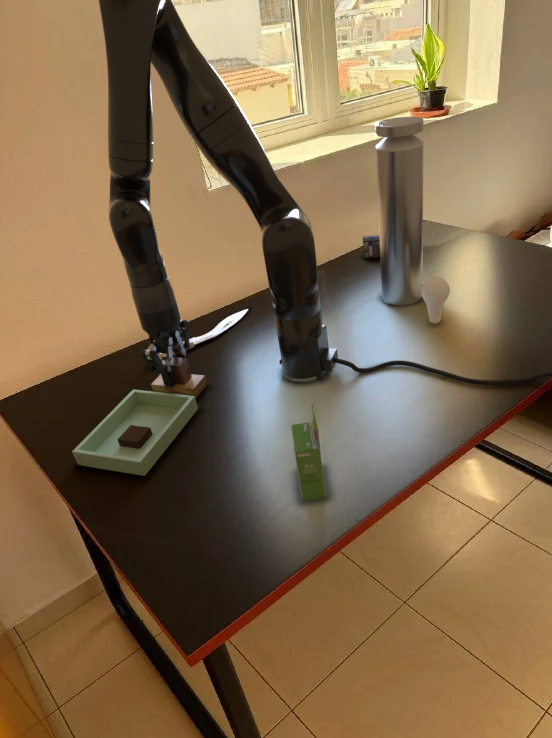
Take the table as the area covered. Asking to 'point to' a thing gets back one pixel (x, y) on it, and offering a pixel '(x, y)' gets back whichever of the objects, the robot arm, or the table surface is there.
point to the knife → (216, 329)
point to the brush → (181, 380)
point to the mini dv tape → (371, 246)
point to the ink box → (308, 459)
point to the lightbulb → (435, 296)
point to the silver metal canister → (400, 209)
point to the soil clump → (135, 436)
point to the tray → (139, 410)
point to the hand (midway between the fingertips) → (177, 378)
